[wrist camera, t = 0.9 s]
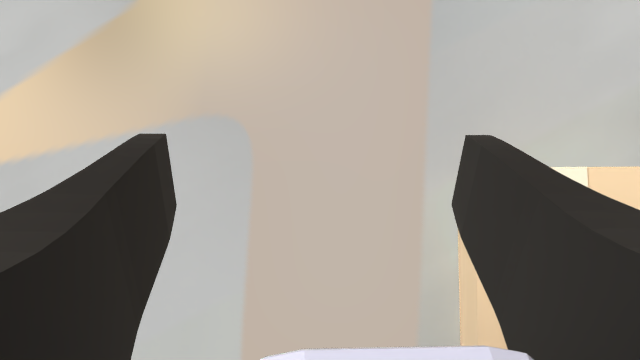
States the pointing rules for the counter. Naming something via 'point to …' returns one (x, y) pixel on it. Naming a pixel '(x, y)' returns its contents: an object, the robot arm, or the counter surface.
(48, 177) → the counter surface
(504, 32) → the counter surface
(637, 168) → the carton
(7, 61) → the counter surface
